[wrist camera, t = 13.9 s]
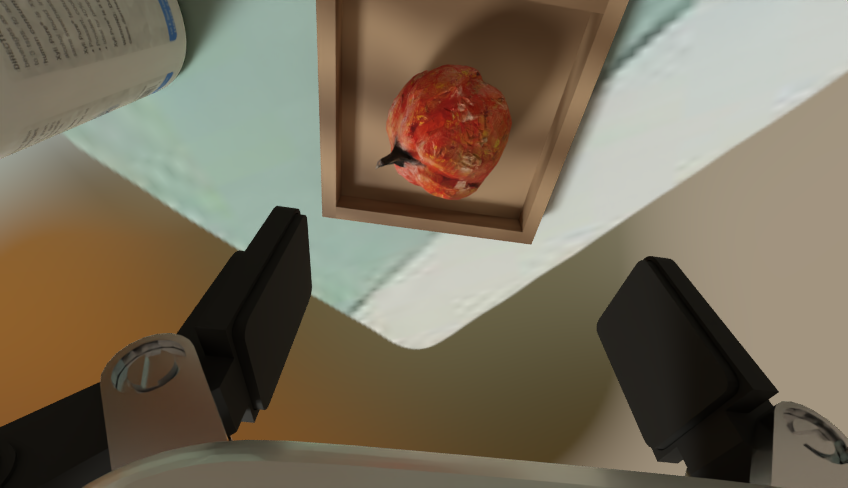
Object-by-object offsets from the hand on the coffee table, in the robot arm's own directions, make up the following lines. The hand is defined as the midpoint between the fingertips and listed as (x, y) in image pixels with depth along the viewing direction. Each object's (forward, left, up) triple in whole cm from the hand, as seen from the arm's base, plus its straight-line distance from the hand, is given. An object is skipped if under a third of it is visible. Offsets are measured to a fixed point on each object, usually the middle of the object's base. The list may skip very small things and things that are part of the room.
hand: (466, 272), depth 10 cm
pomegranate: (0, 0, -17) cm, 17 cm away
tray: (+1, 0, -17) cm, 17 cm away
